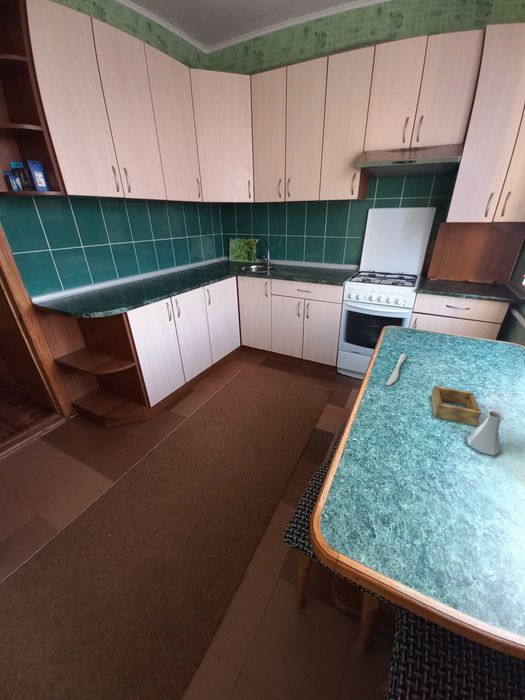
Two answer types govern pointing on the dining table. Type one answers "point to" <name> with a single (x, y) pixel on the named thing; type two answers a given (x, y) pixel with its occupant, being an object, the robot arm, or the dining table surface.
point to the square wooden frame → (452, 412)
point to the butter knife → (396, 370)
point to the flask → (487, 435)
